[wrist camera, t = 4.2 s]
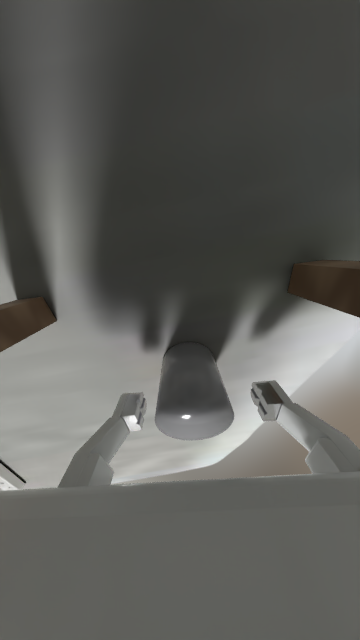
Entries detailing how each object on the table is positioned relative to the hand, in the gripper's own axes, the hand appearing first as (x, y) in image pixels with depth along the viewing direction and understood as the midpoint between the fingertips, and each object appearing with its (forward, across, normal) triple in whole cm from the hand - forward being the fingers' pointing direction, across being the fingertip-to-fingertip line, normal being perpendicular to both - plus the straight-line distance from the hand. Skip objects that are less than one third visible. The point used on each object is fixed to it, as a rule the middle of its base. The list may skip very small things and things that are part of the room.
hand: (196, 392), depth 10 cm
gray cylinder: (+3, 0, 0) cm, 3 cm away
